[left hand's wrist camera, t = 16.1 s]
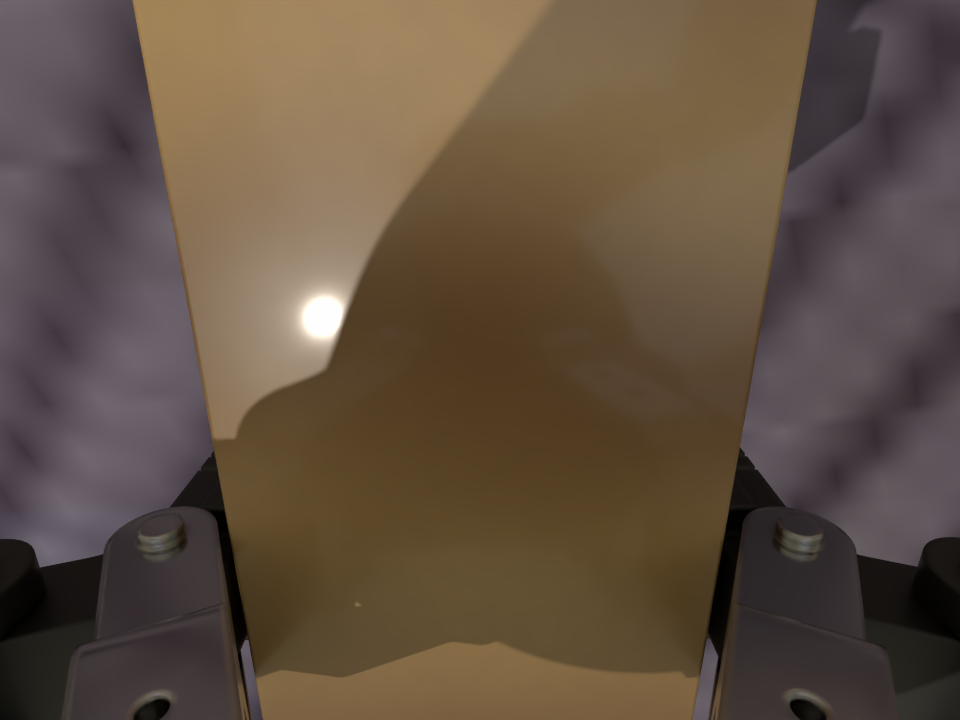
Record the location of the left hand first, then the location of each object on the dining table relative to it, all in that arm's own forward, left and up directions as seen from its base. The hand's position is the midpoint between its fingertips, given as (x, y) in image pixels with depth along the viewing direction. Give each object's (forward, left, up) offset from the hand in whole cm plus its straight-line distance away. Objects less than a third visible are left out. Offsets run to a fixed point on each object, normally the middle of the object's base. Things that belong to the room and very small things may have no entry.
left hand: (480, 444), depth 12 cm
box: (+9, +1, -7) cm, 11 cm away
